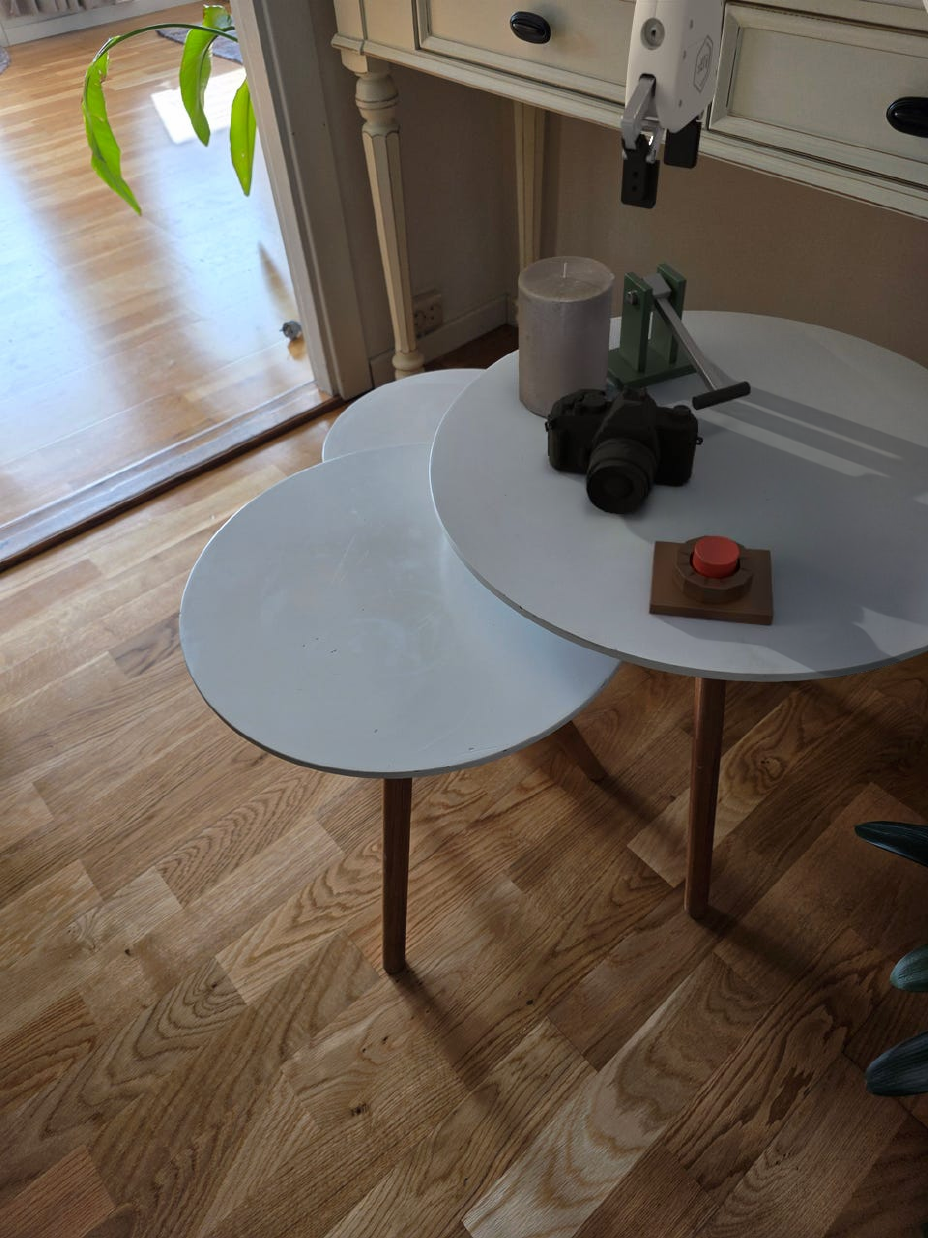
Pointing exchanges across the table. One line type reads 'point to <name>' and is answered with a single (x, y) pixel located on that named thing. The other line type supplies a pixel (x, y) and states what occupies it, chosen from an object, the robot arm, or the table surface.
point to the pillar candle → (563, 329)
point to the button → (715, 557)
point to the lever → (692, 350)
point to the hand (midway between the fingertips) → (659, 184)
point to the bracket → (638, 354)
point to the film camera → (621, 445)
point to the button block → (711, 586)
